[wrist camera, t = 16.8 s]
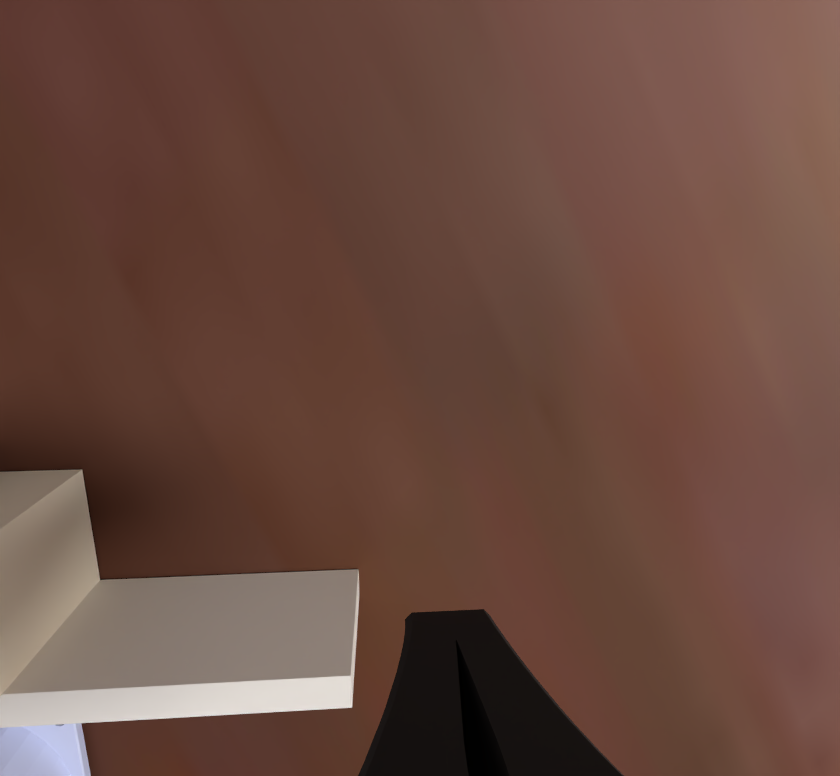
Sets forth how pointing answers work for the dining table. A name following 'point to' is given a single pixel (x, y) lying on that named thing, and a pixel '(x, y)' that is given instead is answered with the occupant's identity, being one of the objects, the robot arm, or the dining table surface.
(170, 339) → the dining table surface
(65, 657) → the wall shelf
